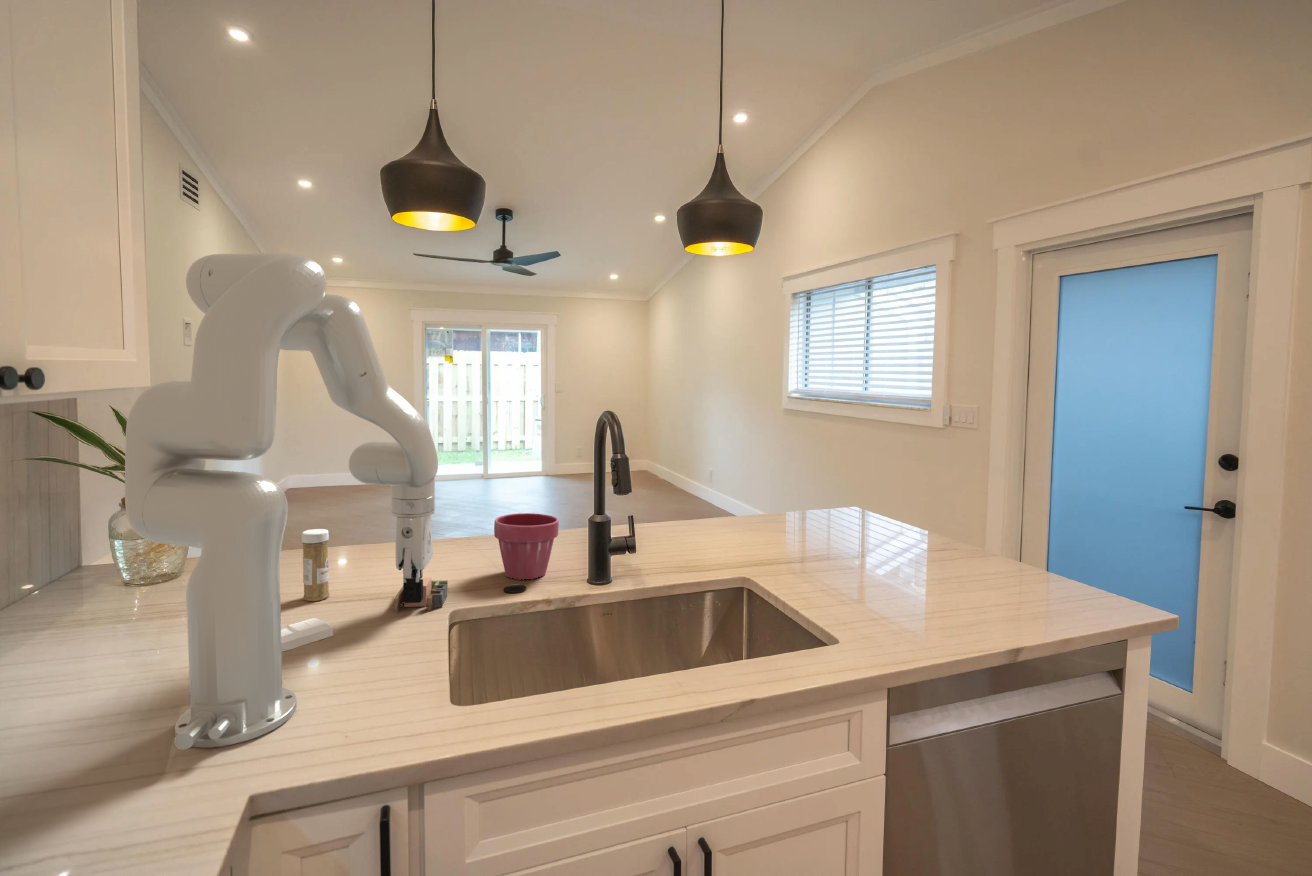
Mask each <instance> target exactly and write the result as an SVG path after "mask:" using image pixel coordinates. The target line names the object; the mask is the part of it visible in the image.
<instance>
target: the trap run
mask: <svg viewBox="0 0 1312 876" xmlns="http://www.w3.org/2000/svg"><path fill="white" fill-rule="evenodd" d="M448 583H449V581H448V579H441V580H440V579H439V580H435V579H434V580H432V590H431V594H429V596H428V604H427V606H426V607H427V612H431V611H432V610H433V608H443V607H444V605H443V604H445V602H446V600H447V597H448V591H449V587H448V586H449V584H448ZM403 604H404V602H403V585H402V586H401V588H400V590H399V591H398V592H397V594H396V595H395V597H394V598H393V613H398V611H399V610H400V609H401V607H402V606H403ZM442 606H443V607H442Z"/></svg>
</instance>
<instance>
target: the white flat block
mask: <svg viewBox="0 0 1312 876" xmlns="http://www.w3.org/2000/svg"><path fill="white" fill-rule="evenodd" d="M333 636H334V627H333V626H331V625H330V624H328V623H327V622H324V621H323V620H321V619H318V617H317V618H316V617H313V618H309V619H305V620H303V621H298V622H296V623H291V624H288V625H285V626H281V653H283V652H286V651H289V650H292V649H296V648H298V647H302V646H304V645H308V644H311V643H314V642H317V641H320V640H324V639H326V638H329V637H333Z"/></svg>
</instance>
